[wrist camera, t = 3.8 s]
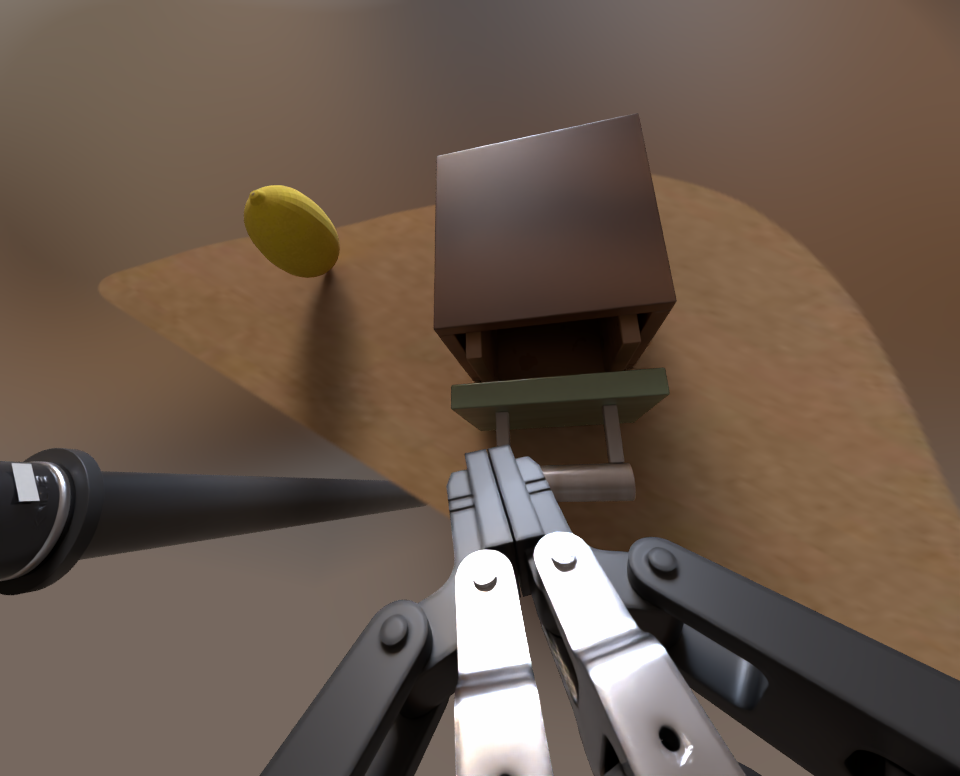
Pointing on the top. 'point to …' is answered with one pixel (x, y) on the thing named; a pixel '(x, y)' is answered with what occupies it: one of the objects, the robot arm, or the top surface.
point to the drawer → (563, 393)
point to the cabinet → (549, 234)
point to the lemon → (291, 231)
